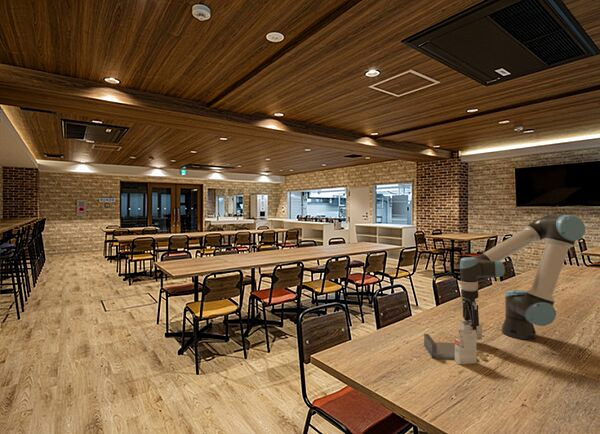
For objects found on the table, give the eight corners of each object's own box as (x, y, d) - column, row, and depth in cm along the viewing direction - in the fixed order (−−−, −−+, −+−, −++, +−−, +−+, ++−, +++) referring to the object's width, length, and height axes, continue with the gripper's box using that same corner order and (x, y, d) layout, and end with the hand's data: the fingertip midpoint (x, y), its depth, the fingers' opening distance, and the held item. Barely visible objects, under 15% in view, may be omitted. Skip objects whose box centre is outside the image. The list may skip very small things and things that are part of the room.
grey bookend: (463, 347, 158) (463, 334, 158) (474, 359, 146) (474, 346, 145) (424, 346, 160) (424, 333, 160) (432, 358, 147) (431, 344, 147)
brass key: (472, 352, 153) (472, 349, 153) (480, 352, 153) (480, 349, 153) (480, 360, 145) (480, 357, 145) (489, 360, 144) (489, 357, 144)
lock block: (476, 334, 166) (476, 321, 166) (482, 339, 160) (481, 325, 160) (458, 334, 167) (458, 321, 167) (463, 339, 161) (462, 325, 161)
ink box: (454, 361, 144) (454, 327, 144) (471, 360, 145) (471, 326, 145) (459, 364, 141) (459, 330, 140) (476, 363, 142) (476, 329, 141)
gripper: (454, 285, 173) (456, 329, 173) (469, 294, 154) (471, 344, 154) (469, 284, 172) (471, 329, 172) (486, 294, 153) (488, 344, 153)
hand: (471, 336), depth 163 cm, fingers closed on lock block, 6 cm apart
